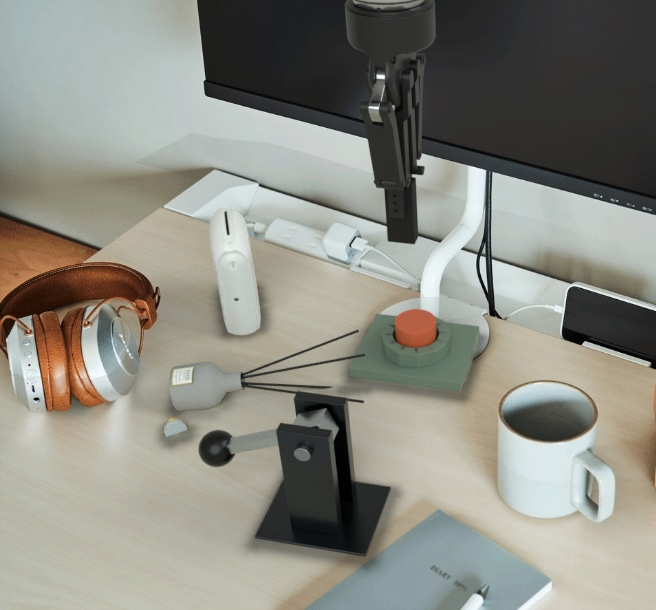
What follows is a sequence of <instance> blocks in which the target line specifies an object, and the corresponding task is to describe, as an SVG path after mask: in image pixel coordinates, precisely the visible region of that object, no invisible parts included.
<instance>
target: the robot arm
mask: <svg viewBox="0 0 656 610" xmlns="http://www.w3.org/2000/svg"><path fill="white" fill-rule="evenodd" d="M344 12H345V13H344V14H345V25H346V36H347V37H346V38H347V41H348V43H349V45H350V46H351V47H352V48H354V49H355V50H357V51H359V52H362V53H364V54H365V55H366V56H367V57H368V59H369V61H368V66H367V68H366V70H365V83H366V88H367V89H368V91H369V99H370V100H369V99H368V100H366V99H361V100H360V103H359V106H358V107H359V114H360V116H361V119H362V121H363V123H364V128H365V132H366V133H365V134H366V138H367V144H368V150H369V157H370V162H371V166H372V173H373V179H374V180H373V184H374V186H375V188H377V189H383V191H384V193H383V194H384V203H385V204H384V207H385V221H386V235H387V237H386V238H387V242H389V243H397V244H406V245H415V244H416V242H417V241H418V239H419V221H418V220H419V219H418V217H419V216H418V197H417V178H416V177H415V176H424V174H425V169H426V166H425V165H418V161H420V160H421V158H422V155H423V151H422V143H423V142H422V141H423V140H422V139H423V99H424V97H423V96H424V94H423V93H424V75H425V74H424V73H425V66H426V65H425V64H426V62H427V59H426V55H425V53H419V52H421V51H424V50H425V49H427V48H429V47H430V46H431V45H432V44H433V43H434V41H435V40H436V37H437V30H436V28H437V27H436V26H437V25H436V1H435V0H346V1H345V3H344Z"/></svg>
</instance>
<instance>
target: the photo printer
mask: <svg viewBox="0 0 656 610" xmlns="http://www.w3.org/2000/svg"><path fill="white" fill-rule="evenodd" d="M208 225H209V227H208V237H209V238H208V239H209V246H210V253H211V261H212V263H213V268H214V274H215V279H216V284H217V289H218V296H219V300H220V306H221V311H222V317H223V322H224V325H225V328H226V331H227V333H228V334H231V335H235V336H247V335H251V334H253V333H255V332H257V330H260V328H261V320H262V319H261V307H260V300H259V291H258V285H257V284H258V283H257V276H256V271H255V266H254V259H253V253H252V248H251V242H250V235H249V230H248V226H247V222H246V219H245V218H244V216H243V215H242V213H240V212H239V211H238V210H237V209H236V208H233V207H228V208H218V209H217V210H216V211H215V212H214V213H213V215H212V216H211V218H210V221H209V224H208Z"/></svg>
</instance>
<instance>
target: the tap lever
mask: <svg viewBox="0 0 656 610" xmlns="http://www.w3.org/2000/svg"><path fill="white" fill-rule="evenodd" d="M295 417H296V416H295ZM292 424H293V425H300V426H307V427H314V428H321V429H327V430H332V434H333V441H334V439H335V437H336V434H337V432H338V430H339V428H338V426H337V425H336V423H335V421H334V420H333V418H332V416H331V415H330V413H329V412H328V410H327V408H324V409H319V410H314V411H309V412H304V413H299V414H298V415H297V417H296V418H295V420H294V421H293V422H292ZM276 430H277V428H273V429H268V430H262V431H257V432H251V433H248V434H247V433H246V434H242V435H237V436H233V435H232V434H231V433H230V432H228V431H226V430H222V429H213V430H211V431H208V432H207V433H205V434H204V435H203V436H202V437H201V439H200V441H199V442H198V449H197V450H198V455H199V458H200V460H201V461H202V462H203V463H204V464H205V465H207V466H209V467H212V468H221V467H225V466H227V465H228V464H230V463H231V462H232V461H233V460H234V458H235V457H236V454H241V453H245V452H251V451H257V450H261V449H267V448H272V447H277V446H278V440H277V434H276ZM278 447H279V446H278Z"/></svg>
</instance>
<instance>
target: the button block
mask: <svg viewBox="0 0 656 610" xmlns="http://www.w3.org/2000/svg"><path fill="white" fill-rule="evenodd" d="M397 316H398V315H390V314H383V313H375V315H374V316H373V319H372V321H371V322H370V325H369V327H368V329H367V331H366V334H365V336H364V338H363V340H362V342H361V344H360V345H359V348H358V350H357V351H356V354H355V355H360V354H365V356H363V357H358V358H353V360H352V362H351V364H350V366H349V376H350V378H356V379H362V380H369V381H370V380H371V381H378V382H384V383H386V382H387V383H393V384H400V385H407V386H415V387H421V388H427V389H428V388H430V389H437V390H444V391H449V392H458V393H461V392H462V389H463V387H464V384H466V383H467V380H468V377H469V373H470V370H471V368H472V365H473V361H474V359H475V355H476V352H477V349H478V345H479V342H480V326H478V325H471V324H465V323H464V324H462V323H455V322H447V321H445V320H443V319H440V318H439V317H437V316H435V318H436V339H435V341H434V342H433V343H432V344H430V345H429V346H424V347H419V348H411V347H404V346H402V345H401V344H399V343H398V342H397V340H396V336H395V319H396V317H397Z"/></svg>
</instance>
